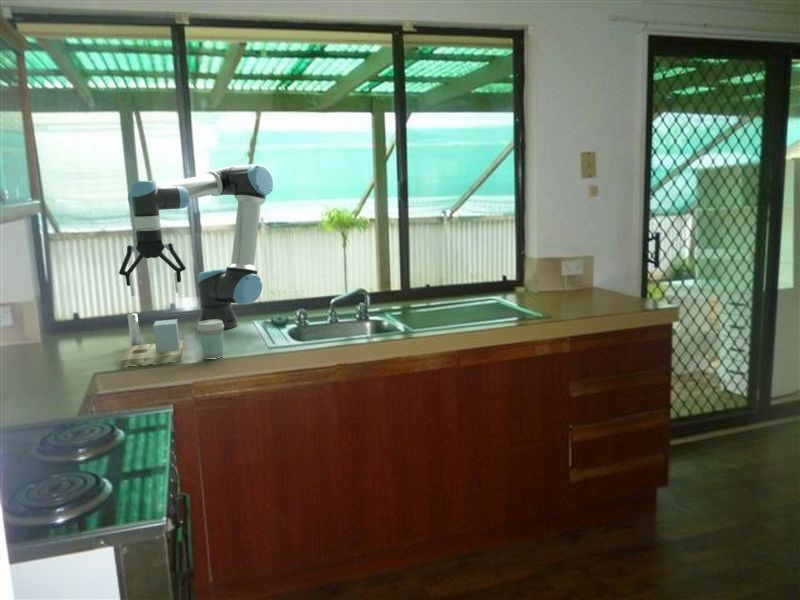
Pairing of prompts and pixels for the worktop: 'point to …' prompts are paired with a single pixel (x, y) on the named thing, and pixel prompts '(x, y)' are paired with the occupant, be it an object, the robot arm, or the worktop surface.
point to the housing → (166, 335)
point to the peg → (134, 329)
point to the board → (150, 355)
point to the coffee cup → (211, 337)
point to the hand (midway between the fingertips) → (155, 293)
